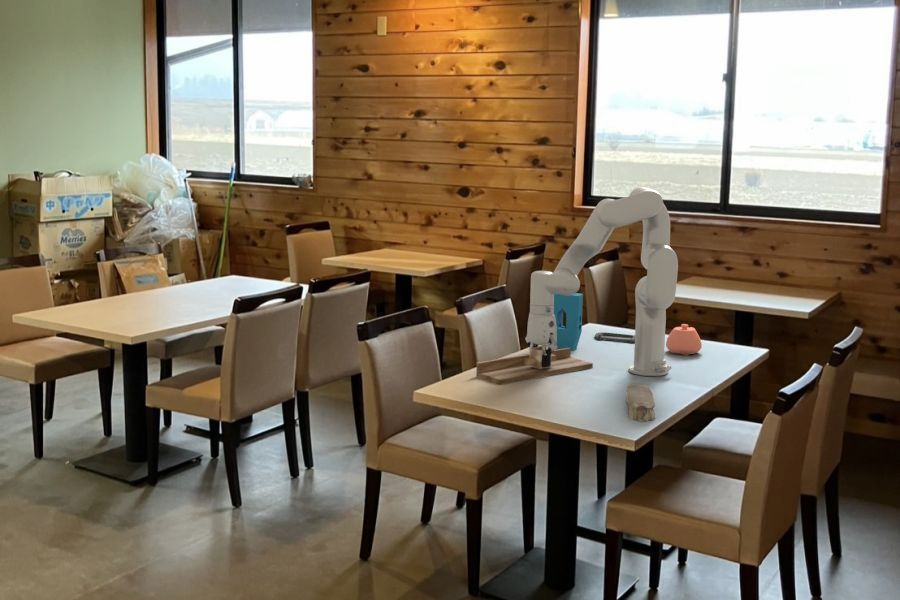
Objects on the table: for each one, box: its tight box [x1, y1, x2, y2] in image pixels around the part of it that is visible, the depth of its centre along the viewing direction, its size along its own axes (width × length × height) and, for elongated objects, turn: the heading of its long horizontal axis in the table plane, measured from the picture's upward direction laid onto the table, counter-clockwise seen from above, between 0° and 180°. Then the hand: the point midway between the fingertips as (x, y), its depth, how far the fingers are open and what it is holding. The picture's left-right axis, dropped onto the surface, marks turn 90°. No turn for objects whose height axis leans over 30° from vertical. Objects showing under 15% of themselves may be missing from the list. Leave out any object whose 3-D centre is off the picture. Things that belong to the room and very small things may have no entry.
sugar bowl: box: [665, 323, 703, 357], centre depth 346 cm, size 12×14×10 cm
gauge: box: [524, 345, 556, 369], centre depth 315 cm, size 5×12×7 cm, turn 125°
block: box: [553, 292, 584, 351], centre depth 350 cm, size 12×5×20 cm, turn 59°
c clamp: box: [594, 331, 635, 345], centre depth 366 cm, size 20×17×3 cm
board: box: [476, 348, 594, 385], centre depth 317 cm, size 12×39×4 cm, turn 125°
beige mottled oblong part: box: [625, 384, 656, 423], centre depth 276 cm, size 24×8×5 cm, turn 174°
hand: (540, 364), depth 316 cm, fingers closed on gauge, 5 cm apart
